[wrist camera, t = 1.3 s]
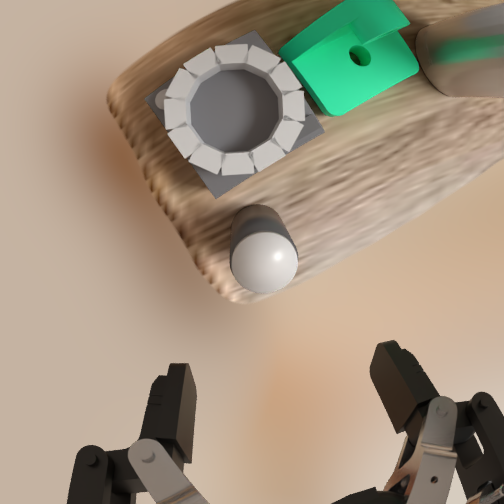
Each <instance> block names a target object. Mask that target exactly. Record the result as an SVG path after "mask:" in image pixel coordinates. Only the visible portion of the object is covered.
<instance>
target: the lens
mask: <svg viewBox="0 0 504 504" xmlns="http://www.w3.org/2000/svg"><path fill="white" fill-rule="evenodd" d="M297 266H298V252H297V249H296V246H295V244H294V243H293V241H292V239H291V237H290V235H289V233H288V231H287V229H286V227H285V225H284V223H283V222H282V220H281V218H280V216H279V215H278V213H277V212H276V211H275V210H273V209H272V208H270V207H268V206H265V205H251V206H248V207H245V208H244V209H242V210H241V211H240V212H238V213H237V215H236V216H235V218H234V220H233V222H232V226H231V242H230V268H231V271H232V273H233V275H234V277H235V279H236V280H237V282H238V283H239V284H240V285H241V286H242V287H244V288H245V289H247V290H249V291H252V292H255V293H271V292H275V291H278V290H280V289H282V288H283V287H285V286H286V285H287V284H288V283H289V282H290V281H291V280H292V279H293V277H294V275H295V273H296V271H297Z"/></svg>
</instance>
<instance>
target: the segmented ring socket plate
mask: <svg viewBox="0 0 504 504" xmlns="http://www.w3.org/2000/svg"><path fill="white" fill-rule="evenodd" d="M280 60H281V58H279V57H277V56H275V55H274V54H273V52H272V51H271V50H270V48H269V47H268V46H267V44H266V43H265V42H264V41H263V39H262V38H261V37H260V36H259V34H258V33H257V32H256V31H255V30H253V31H251V32H249V33H247V34H245V35H243V36H241V37H239V38H237V39H235V40H233V41H231V42H230V43H228V44H226V45H221V46H215V51H213V50H212V49H211V48H209V49H207V50H205V51H203V52H202V53H200V54H198V55H197V56H195V57H194V58H192V59H191V60H189V61H187V62H186V63H184V64H183V65H184V67H185V68H186V69H181V68H179V70H178V72H177V73H176V75H175V76H174V77H173V78H171V79H170V80H168V81H167V82H166V83H164V84H163V85H161V86H160V87H159V88H157V89H156V90H155V91H153V92H152V93H151V94H150V95H148V96H147V97H146V98H144V99H145V101H146V102H147V103H148V105H149V106H150V108H151V109H152V110H153V112H154V113H155V115H156V116H157V117H158V119H159V120H160V122H161V123H162V124H163V126H164V127H165V129H166V130H167V131H168V136H169V137H170V139H171V140H172V141H173V143H174V144H175V146H176V147H177V148H178V150H179V151H180V153H181V154H182V155H183V157H184V158H187V159H188V161H189V162H190V164H191V165H192V166H193V168H194V169H195V171H196V172H197V173H198V175H199V176H200V178H201V179H202V180H203V182H204V183H205V185H206V186H207V187H208V189H209V190H210V192H211V193H212V194H213V196H214V197H215V199H217V198H218V197H220V196H221V195H223V194H224V193H226V192H227V191H229V190H230V189H232V188H233V187H235V186H237V185H238V184H240V183H241V182H243V181H244V180H246V179H247V178H249V177H251V176H252V175H254V174H255V173H257V172H258V171H259V172H260V171H261V170H263V169H265V168H266V167H268V166H269V165H271V164H273V163H274V162H276V161H278V160H279V159H281V158H283V157H284V156H286V154H288V153H290V152H291V151H293V150H295V149H296V148H298V147H300V146H301V145H303V144H305V143H307V142H308V141H310V140H312V139H314V138H315V137H317V136H319V135H321V134H322V133H324V132H325V131H324V129H323V128H322V126H321V124H320V122H319V121H318V119H317V117H316V116H315V114H314V113H313V111H312V109H311V108H310V106H309V105H308V103H307V101H306V100H305V98H304V91H299V89H300V88H301V87H302V86H301V84H300V83H299V81H298V80H297V78H296V77H295V75H294V74H293V72H292V71H291V69H290V68H289V67H288V65H287V64H286V62H283V63H280V62H279V61H280Z"/></svg>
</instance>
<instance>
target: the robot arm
mask: <svg viewBox="0 0 504 504" xmlns="http://www.w3.org/2000/svg"><path fill="white" fill-rule="evenodd" d="M415 44H416V53H417V57H418V60H419V63H420V65H421V67H422V69H423V71H424V73H425V75H426V76H427V78H428V79H429V81H430V82H431V83H432V84H433V85H434V86H435V87H436V88H437V89H438V90H439V91H440V92H442V93H444V94H445V95H447V96H450V97H496V98H504V3H500V4H496V5H492V6H488V7H484V8H480V9H476V10H473V11H469V12H466V13H463V14H460V15H457V16H454V17H451V18H448V19H445V20H442V21H439V22H437V23H434V24H432V25H429V26H427V27H424V28H422V29H421V30H420V31H419V32H418V34H417V36H416V42H415ZM370 376H371V379H372V382H373V383H374V386H375V388H376V390H377V392H378V394H379V396H380V398H381V400H382V403H383V405H384V407H385V409H386V411H387V413H388V416H389V418H390V420H391V422H392V424H393V427H394V429H395V431H396V433H397V434H398V433H401V432H404V431H406V433H407V436H406V438H405V440H404V444H403V447H402V450H401V453H400V456H399V459H398V462H397V464H396V467H395V470H394V472H393V474H392V476H391V477H390V479H389V480H388V482H387V484H386V486H385V487H384V490H383V491H377V490H376V487H373V488H370V489H367V490H364V491H361V492H357V493H354V494H350V495H348V496H346V497H344V498H342V499H340V500H338V501H336V502H334V503H332V504H446V500H447V497H448V494H449V490H450V486H451V482H452V478H453V474H454V470H455V468H456V470H457V473H458V475H459V478H460V481H461V484H462V486H463V489H464V492H465V495H466V498H467V503H466V504H504V416H503V414H502V412H501V411H500V409H499V407H498V406H497V404H496V402H495V401H494V399H493V398H492V396H491V395H489V394H488V393H485V392H478V393H476V394H475V395H474V396H473V398H472V399H471V400H470V401H464V402H454V401H453V400H452V399H450V398H448V397H445V396H440V395H439V393H438V392H437V390H436V389H435V387H434V386H433V384H432V382H431V381H430V379H429V378H428V376H427V375H426V373H425V372H424V371H423V369H422V367H421V365H419V362H418V361H417V359H416V358H415V357H414V355H413V354H411V353H410V352H409V351H407V350H406V349H401V348H400V346H399V345H398V343H397V342H396V341H394V340H391V341H387V342H383V343H379V344H378V345H377V347H376V350H375V353H374V356H373V359H372V362H371V365H370ZM149 395H150V397H149V399H148V403H147V404H148V405H147V407H146V411H145V415H144V420H143V425H142V429H141V434H140V437H139V439H138V440H137V441H136V442H135V443H133V444H132V445H131V447H129V448H127V449H122V450H114V451H104V450H103V449H102V448H100V447H98V446H94V445H88V446H85V447H83V448H81V449H80V450H79V452H78V453H77V455H76V459H75V464H74V468H73V473H72V478H71V483H70V488H69V493H68V500H67V504H136V493H139V492H147V491H148V492H149V493H150V495H151V496H152V498H153V499H154V501H155V502H156V504H209V503H208V502H207V500H206V499H205V498H204V497H203V496H202V495H201V494H200V493H199V492H198V490H197V489H196V488H195V487H194V486H193V485H192V483H191V482H190V481H189V480H188V479H187V477H186V476H185V475H184V474H183V467H184V463H192V449H193V435H194V422H195V411H196V400H197V394H196V386H195V382H194V379H193V376H192V372H191V369H190V366H189V364H188V363H179V364H178V363H171V364H170V365H169V369H168V374H167V376H163V375H161V376H160V375H159V376H158V377H157V379H156V380H155V381H154V383H153V384H152V386H151V390H150V394H149ZM475 432H476V434H477V436H478V437H479V440H480V442H481V444H482V446H483V449H484V454H483V453H482V451H481V449H480V447H479V444H478V443H477V440H476V438H475V436H474V433H475Z"/></svg>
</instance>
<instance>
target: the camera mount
mask: <svg viewBox="0 0 504 504" xmlns="http://www.w3.org/2000/svg"><path fill="white" fill-rule="evenodd" d="M409 24H410V22H409V21H408V20H407V18H406V17H405V15H404V14H403V13H402V11H401V10H400V9H399V8H398V6H397V5H396V4H395V2H394V1H393V0H345V1H343V2H342V3H340V4H339V5H337V6H336V7H334V8H333V9H331V10H330V11H328V12H327V13H325V14H324V15H323V16H321V17H320V18H319V19H317V20H316V21H314V22H313V23H312V24H310V25H309V26H308V27H306V28H305V29H304V30H303V31H301V32H300V33H299V34H297V35H296V36H295V37H294V38H292V39H291V40H290V41H289V42H288V43H286V44H285V45H284V46H283V47H282V48H281V49H280V50H279V52H278V54H279V55H280V56H281V57H282V59H283V60H284V61H285V62H286V64H287V65H288V66H289V67H290V69H291V70H292V71H293V72H294V74H295V75H296V76H297V78H298V79H299V80H300V82H301V83H302V84H303V86H304V87H305V88H306V90H307V91H308V93H309V94H310V95H311V97H312V98H313V100H314V101H315V102H316V104H317V105H318V107H319V108H320V110H321V111H322V112H323V113H324V114H325V115H327V116H330V117H334V116H340V115H343V114H345V113H346V112H348V111H350V110H351V109H353V108H355V107H356V106H358V105H360V104H362V103H363V102H365V101H367V100H368V99H370V98H372V97H374V96H375V95H377V94H379V93H381V92H382V91H384V90H386V89H388V88H390V87H392V86H393V85H395V84H397V83H399V82H401V81H403V80H405V79H406V78H408V77H410V76H412V75H414V74H416V73H417V72H418V71H419V64H418V62H417V60H416V58H415V57H414V55H413V53H412V52H411V50H410V49H409V47H408V46H407V44H406V42H405V41H404V39H403V38H402V36H401V35H400V34H399V32H398V31H397V30H399V29H402V28H404V27H406V26H408V25H409ZM349 52H352V53H354V54H355V55H356V56H357V57H358V58H359V60H360V66H359V65H357V64H355V63H354V62H353V61H352V60H351V58H350V55H349Z"/></svg>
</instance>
